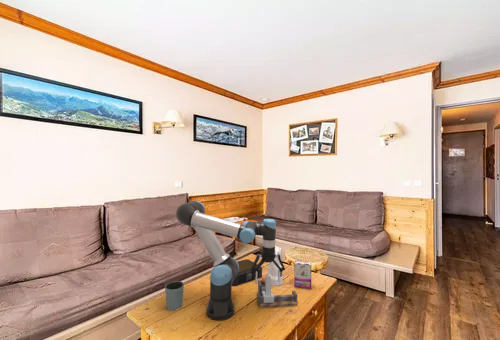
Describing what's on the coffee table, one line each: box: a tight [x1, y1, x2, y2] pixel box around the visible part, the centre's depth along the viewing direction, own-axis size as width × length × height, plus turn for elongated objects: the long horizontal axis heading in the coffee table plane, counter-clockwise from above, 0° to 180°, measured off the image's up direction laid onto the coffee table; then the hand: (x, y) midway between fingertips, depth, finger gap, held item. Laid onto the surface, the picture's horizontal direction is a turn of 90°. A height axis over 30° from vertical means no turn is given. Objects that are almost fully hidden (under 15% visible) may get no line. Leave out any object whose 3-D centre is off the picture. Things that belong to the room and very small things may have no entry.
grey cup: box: [164, 280, 185, 311], centre depth 132 cm, size 10×10×12 cm
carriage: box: [262, 275, 274, 303], centre depth 136 cm, size 6×6×14 cm
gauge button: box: [261, 275, 266, 284], centre depth 145 cm, size 3×3×4 cm
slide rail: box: [256, 290, 298, 309], centre depth 137 cm, size 23×8×6 cm, turn 98°
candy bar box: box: [293, 260, 312, 290], centre depth 156 cm, size 11×5×16 cm, turn 76°
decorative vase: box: [267, 245, 284, 287], centre depth 162 cm, size 11×11×25 cm
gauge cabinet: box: [257, 279, 265, 296], centre depth 145 cm, size 7×6×8 cm
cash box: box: [232, 258, 263, 287], centre depth 170 cm, size 25×20×8 cm
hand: (267, 282), depth 136 cm, fingers open, 13 cm apart
